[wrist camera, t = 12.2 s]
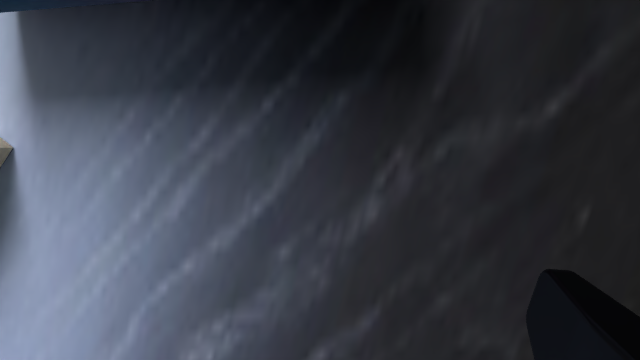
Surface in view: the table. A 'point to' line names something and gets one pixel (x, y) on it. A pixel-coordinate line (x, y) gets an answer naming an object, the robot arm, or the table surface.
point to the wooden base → (4, 150)
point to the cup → (52, 4)
